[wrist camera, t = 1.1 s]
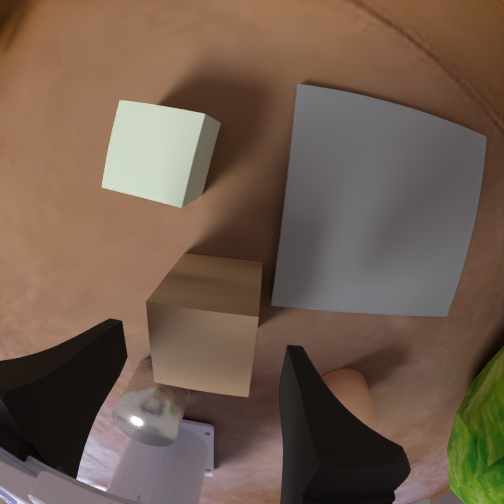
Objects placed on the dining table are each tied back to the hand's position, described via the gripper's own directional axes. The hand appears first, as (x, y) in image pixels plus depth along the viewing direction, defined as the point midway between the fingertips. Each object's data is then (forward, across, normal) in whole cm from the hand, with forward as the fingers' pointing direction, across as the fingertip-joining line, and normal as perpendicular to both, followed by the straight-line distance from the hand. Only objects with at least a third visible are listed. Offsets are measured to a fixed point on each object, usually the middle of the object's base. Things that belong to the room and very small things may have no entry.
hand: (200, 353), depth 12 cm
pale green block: (+6, +3, -8) cm, 10 cm away
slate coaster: (+6, -9, -6) cm, 12 cm away
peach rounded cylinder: (+6, -9, +7) cm, 13 cm away
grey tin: (+6, +4, +8) cm, 11 cm away
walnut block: (+6, 0, 0) cm, 6 cm away
